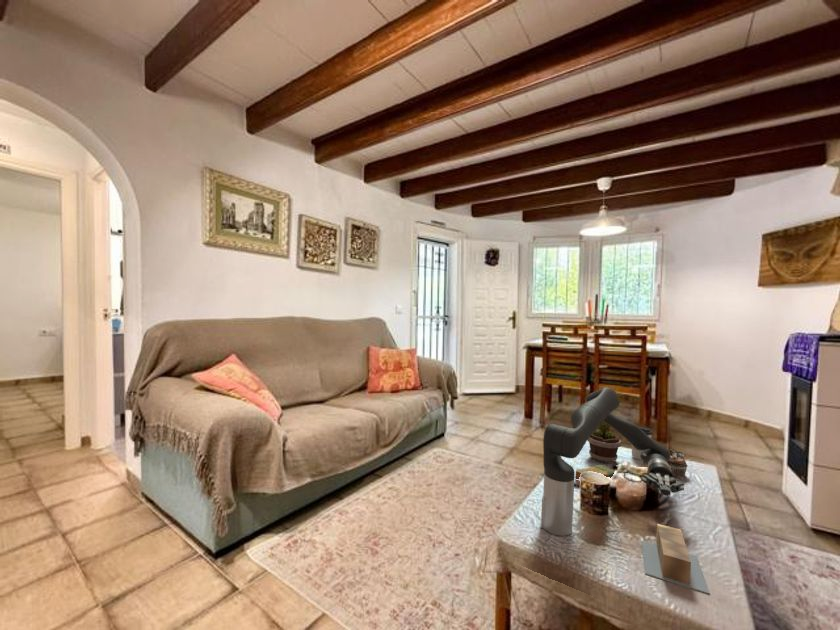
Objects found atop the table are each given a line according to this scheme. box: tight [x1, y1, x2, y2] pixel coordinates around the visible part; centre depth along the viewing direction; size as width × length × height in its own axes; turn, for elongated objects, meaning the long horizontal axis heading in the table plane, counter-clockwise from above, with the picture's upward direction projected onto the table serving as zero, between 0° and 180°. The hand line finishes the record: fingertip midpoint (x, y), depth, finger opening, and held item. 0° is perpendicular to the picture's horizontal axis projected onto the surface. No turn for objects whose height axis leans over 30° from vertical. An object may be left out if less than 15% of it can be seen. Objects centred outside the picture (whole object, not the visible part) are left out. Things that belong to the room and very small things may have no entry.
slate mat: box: [640, 540, 711, 595], centre depth 104 cm, size 14×16×1 cm
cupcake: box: [667, 448, 688, 479], centre depth 162 cm, size 10×10×10 cm
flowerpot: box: [586, 421, 623, 464], centre depth 175 cm, size 14×15×20 cm
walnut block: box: [655, 523, 691, 585], centre depth 104 cm, size 6×6×16 cm
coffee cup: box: [630, 424, 653, 461], centre depth 179 cm, size 9×9×15 cm
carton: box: [574, 464, 615, 480], centre depth 154 cm, size 8×16×4 cm, turn 118°
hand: (665, 493), depth 120 cm, fingers closed
